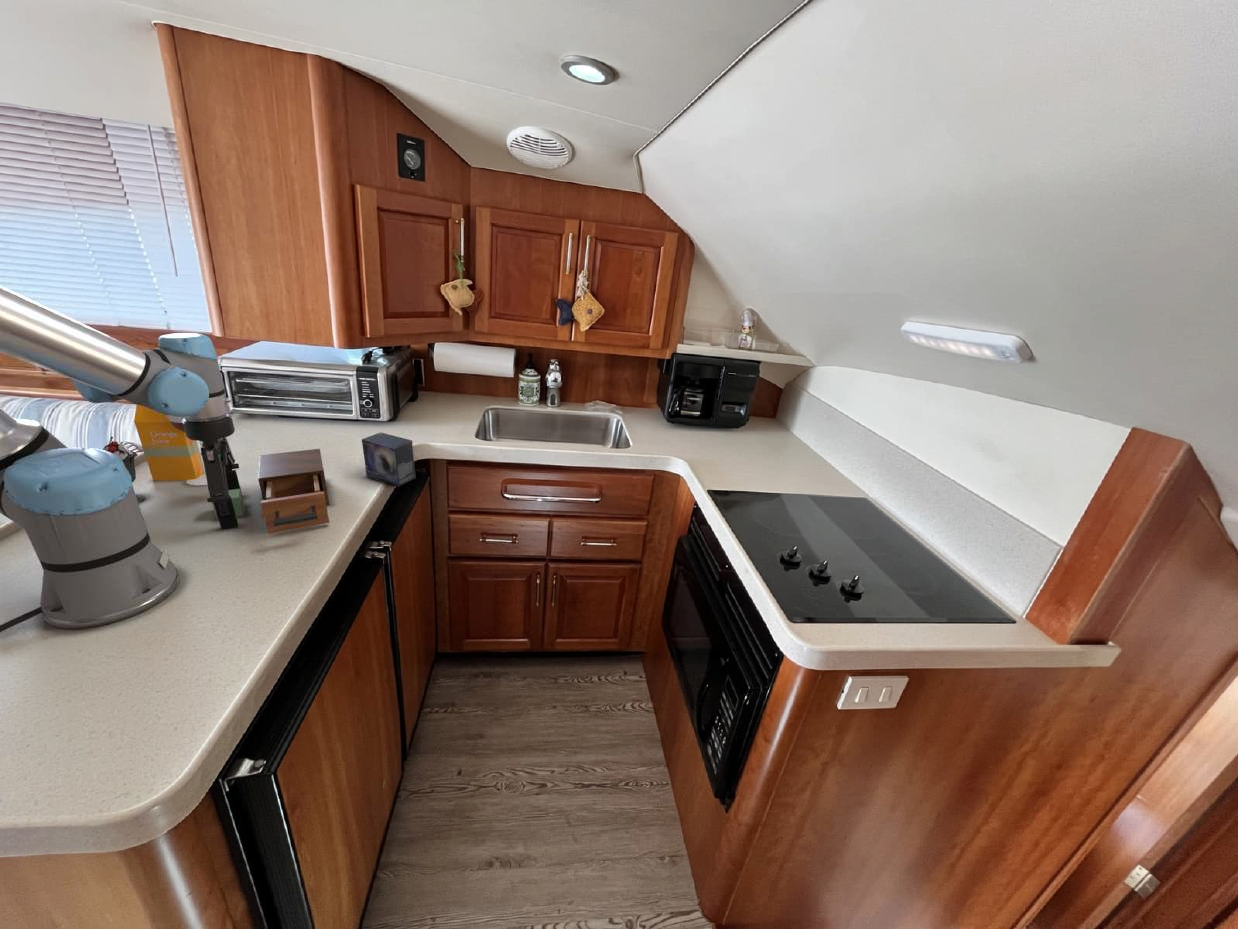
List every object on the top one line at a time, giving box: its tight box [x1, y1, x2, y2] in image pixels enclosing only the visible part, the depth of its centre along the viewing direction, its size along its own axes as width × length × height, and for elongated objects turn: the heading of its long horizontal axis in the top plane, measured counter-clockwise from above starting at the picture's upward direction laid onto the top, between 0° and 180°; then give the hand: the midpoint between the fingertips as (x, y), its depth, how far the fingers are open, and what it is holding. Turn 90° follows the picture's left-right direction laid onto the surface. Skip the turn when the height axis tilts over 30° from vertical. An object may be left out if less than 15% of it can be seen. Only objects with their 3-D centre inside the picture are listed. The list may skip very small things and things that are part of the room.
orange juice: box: [133, 404, 204, 482], centre depth 113 cm, size 8×9×20 cm
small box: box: [361, 431, 417, 487], centre depth 122 cm, size 11×6×10 cm, turn 68°
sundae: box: [102, 436, 147, 504], centre depth 101 cm, size 7×7×15 cm
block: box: [211, 488, 245, 521], centre depth 102 cm, size 4×4×4 cm
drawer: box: [260, 474, 330, 535], centre depth 100 cm, size 17×10×7 cm, turn 32°
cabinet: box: [257, 448, 330, 507], centre depth 110 cm, size 14×12×9 cm
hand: (232, 512), depth 103 cm, fingers open, 13 cm apart
